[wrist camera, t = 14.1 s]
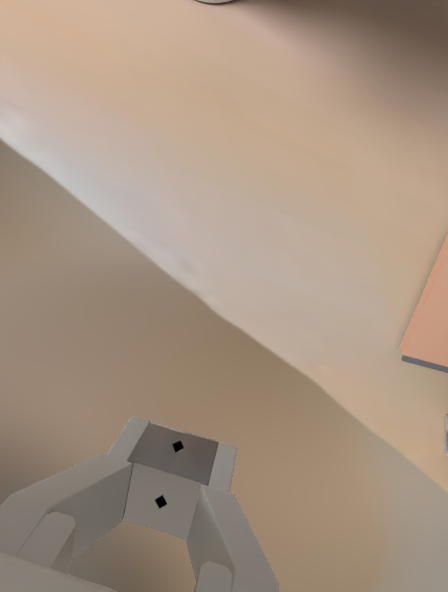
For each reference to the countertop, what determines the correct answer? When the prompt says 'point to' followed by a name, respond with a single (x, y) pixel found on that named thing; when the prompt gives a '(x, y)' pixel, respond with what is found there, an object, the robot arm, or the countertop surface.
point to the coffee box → (446, 435)
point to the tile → (431, 317)
